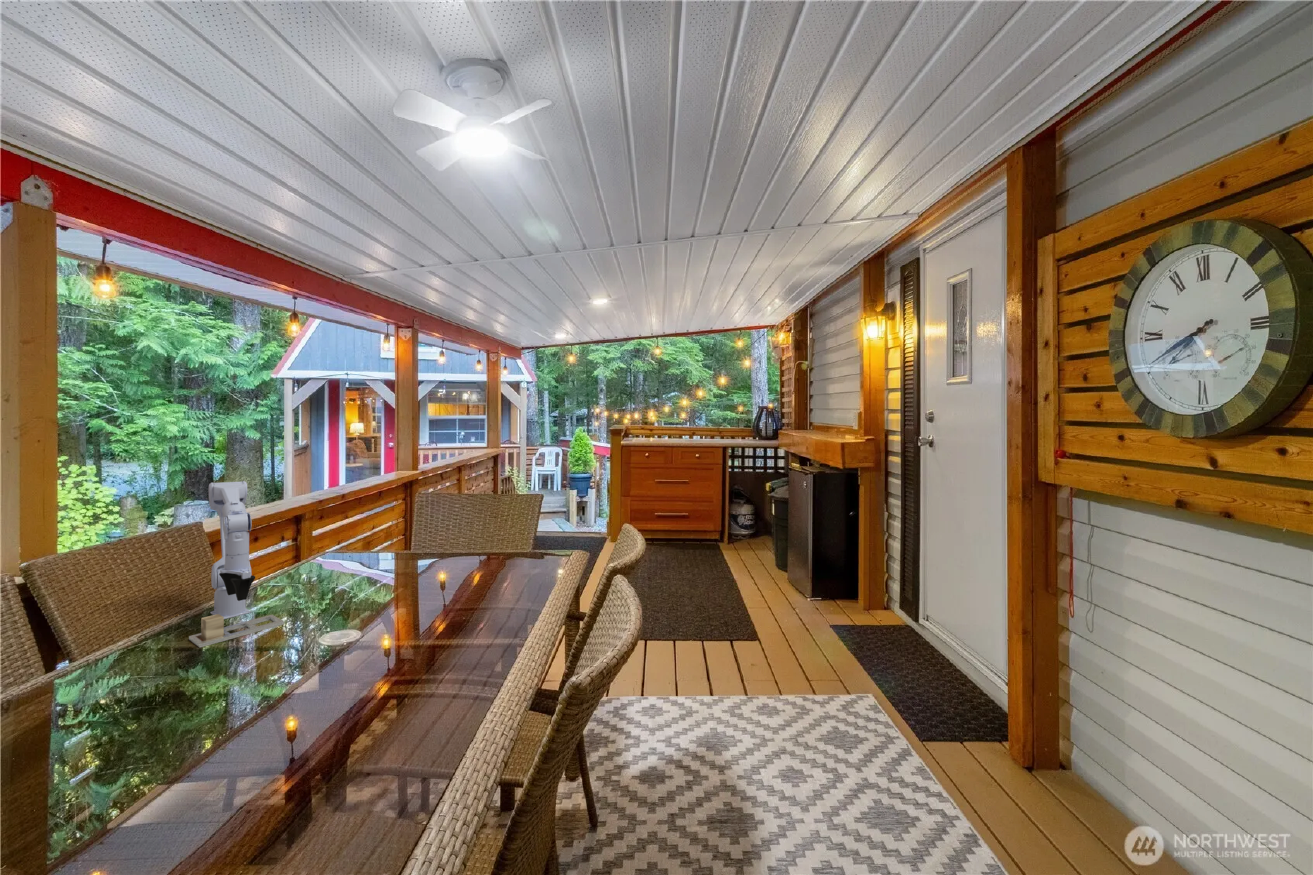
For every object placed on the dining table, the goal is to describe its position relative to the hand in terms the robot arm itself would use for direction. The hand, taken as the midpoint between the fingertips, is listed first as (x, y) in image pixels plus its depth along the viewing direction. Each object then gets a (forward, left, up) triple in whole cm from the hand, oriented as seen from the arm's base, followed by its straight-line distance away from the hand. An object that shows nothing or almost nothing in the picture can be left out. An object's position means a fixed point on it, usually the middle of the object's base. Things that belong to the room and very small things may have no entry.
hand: (237, 597), depth 158 cm
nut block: (+4, -7, -9) cm, 12 cm away
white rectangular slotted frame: (+4, -1, -9) cm, 10 cm away
